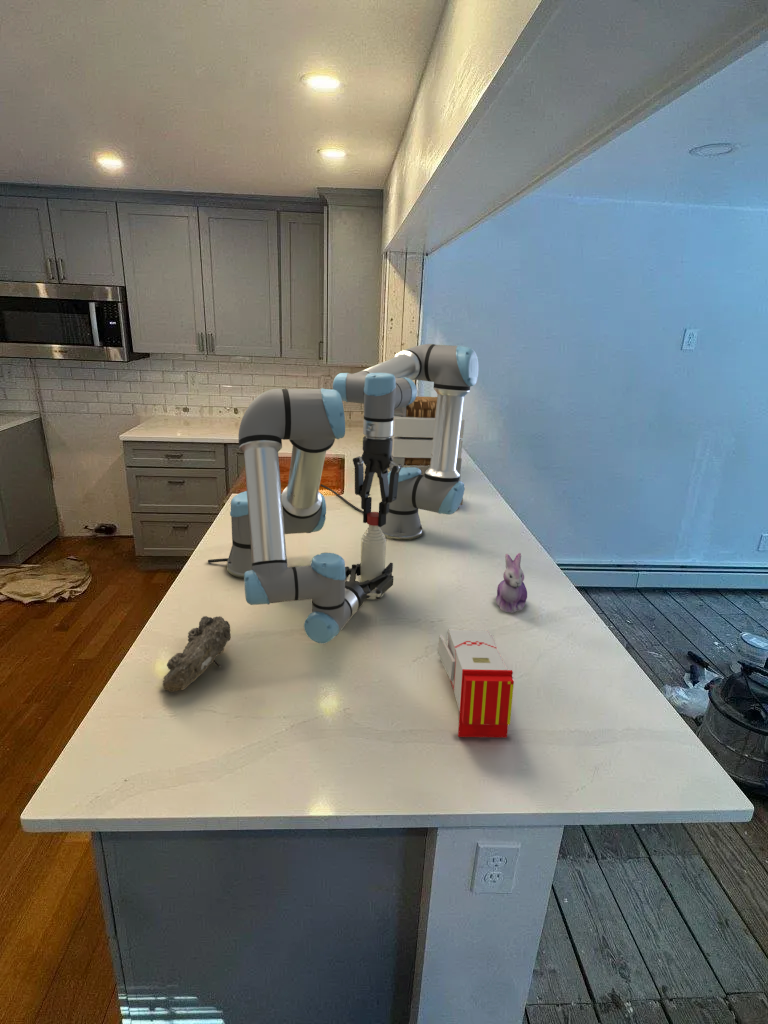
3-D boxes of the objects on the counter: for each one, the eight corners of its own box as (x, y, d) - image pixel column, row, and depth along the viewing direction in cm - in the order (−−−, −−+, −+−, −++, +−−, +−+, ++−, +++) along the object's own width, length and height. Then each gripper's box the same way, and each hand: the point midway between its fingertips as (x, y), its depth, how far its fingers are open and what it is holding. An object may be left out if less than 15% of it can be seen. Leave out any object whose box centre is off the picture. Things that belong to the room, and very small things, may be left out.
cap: (363, 521, 151) (364, 513, 150) (376, 519, 153) (376, 510, 152) (372, 526, 148) (372, 518, 147) (385, 524, 150) (385, 515, 149)
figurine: (509, 617, 148) (516, 565, 143) (485, 599, 156) (491, 550, 151) (537, 610, 152) (544, 559, 147) (512, 593, 161) (519, 544, 156)
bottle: (369, 585, 162) (371, 511, 154) (388, 592, 158) (392, 517, 151) (354, 594, 157) (356, 517, 149) (374, 601, 153) (377, 523, 145)
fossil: (186, 619, 132) (231, 589, 127) (214, 646, 135) (260, 618, 130) (141, 685, 113) (192, 653, 108) (176, 716, 116) (227, 686, 111)
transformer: (382, 463, 289) (386, 382, 275) (445, 464, 293) (451, 384, 279) (390, 482, 257) (394, 392, 243) (460, 483, 261) (468, 394, 247)
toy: (488, 613, 130) (523, 677, 101) (484, 667, 133) (517, 744, 104) (435, 612, 130) (455, 676, 101) (432, 666, 133) (451, 743, 103)
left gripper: (309, 605, 144) (346, 570, 164) (382, 622, 137) (411, 583, 158) (309, 579, 141) (347, 546, 161) (383, 595, 135) (413, 558, 155)
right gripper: (341, 434, 143) (339, 520, 151) (400, 444, 135) (395, 534, 143) (357, 429, 149) (355, 512, 157) (414, 439, 141) (409, 526, 149)
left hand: (379, 564), depth 160 cm, fingers closed on bottle, 7 cm apart
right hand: (374, 523), depth 150 cm, fingers closed on cap, 4 cm apart
